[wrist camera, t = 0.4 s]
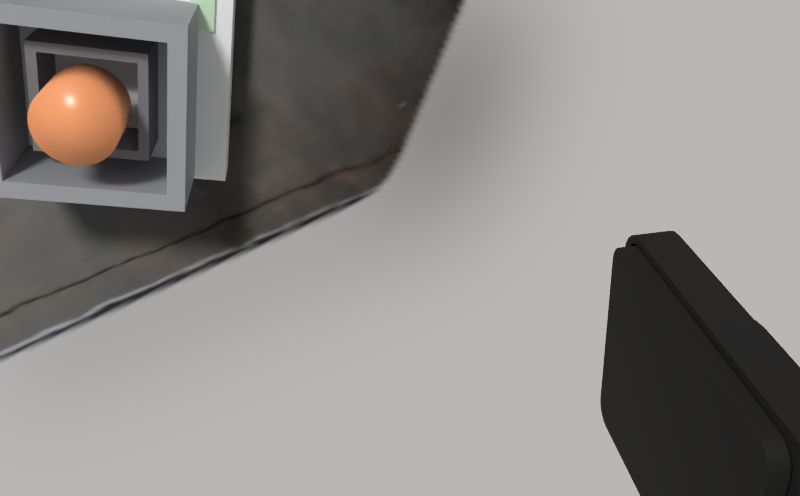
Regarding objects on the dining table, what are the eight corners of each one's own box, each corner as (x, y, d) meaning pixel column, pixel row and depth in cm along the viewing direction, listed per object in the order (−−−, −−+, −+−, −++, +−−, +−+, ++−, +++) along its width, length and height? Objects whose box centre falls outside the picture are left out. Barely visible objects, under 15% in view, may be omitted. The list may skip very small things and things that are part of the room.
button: (43, 58, 36) (23, 78, 34) (131, 68, 37) (118, 88, 34) (49, 137, 38) (30, 161, 36) (132, 145, 39) (121, 169, 36)
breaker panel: (-34, -83, 37) (-92, -62, 32) (237, -45, 40) (228, -19, 34) (-8, 145, 43) (-53, 196, 37) (227, 166, 45) (218, 217, 40)
